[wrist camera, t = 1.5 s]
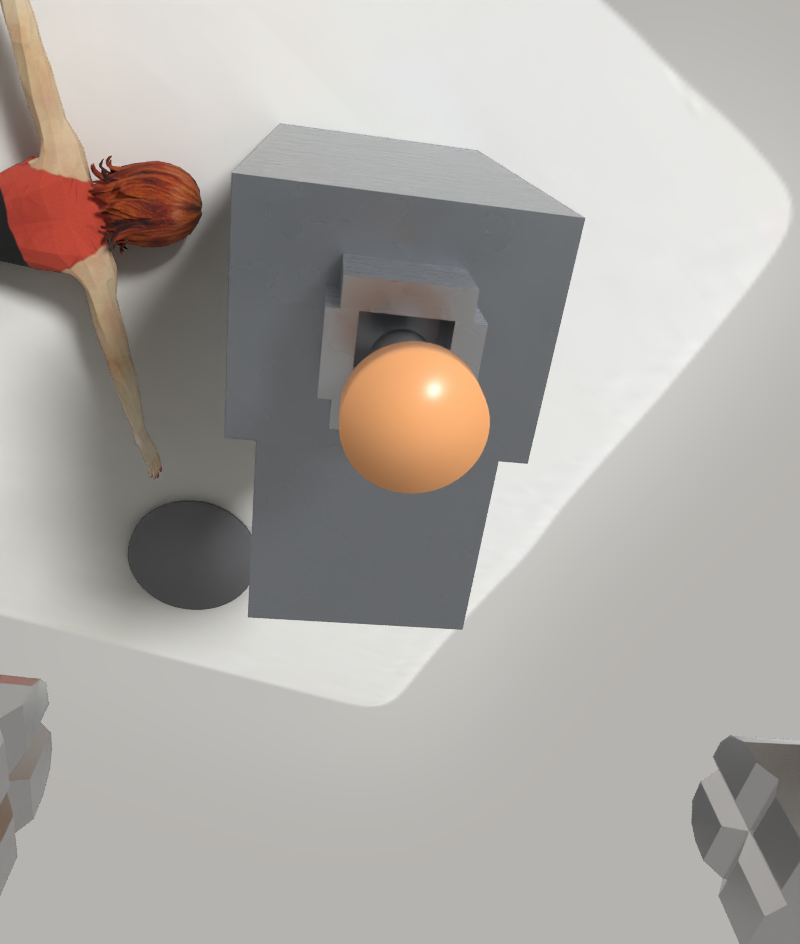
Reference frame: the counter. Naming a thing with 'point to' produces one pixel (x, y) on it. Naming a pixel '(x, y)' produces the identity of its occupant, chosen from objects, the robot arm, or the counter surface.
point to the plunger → (412, 415)
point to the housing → (349, 342)
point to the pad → (191, 555)
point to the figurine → (86, 212)
